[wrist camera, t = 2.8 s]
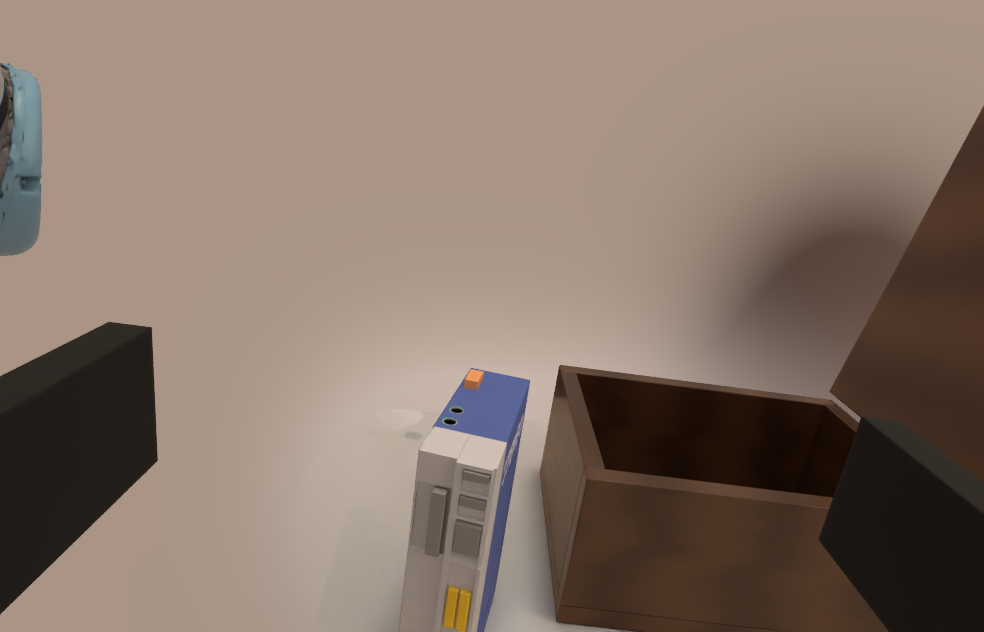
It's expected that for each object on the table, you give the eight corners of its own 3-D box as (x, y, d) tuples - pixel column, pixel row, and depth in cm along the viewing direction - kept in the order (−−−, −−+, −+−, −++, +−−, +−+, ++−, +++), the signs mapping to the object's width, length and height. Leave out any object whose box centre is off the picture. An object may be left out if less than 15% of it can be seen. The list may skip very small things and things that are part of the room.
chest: (556, 622, 29) (587, 478, 26) (539, 471, 41) (559, 364, 39) (922, 665, 29) (985, 527, 27) (796, 503, 42) (832, 399, 39)
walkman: (442, 577, 30) (471, 360, 27) (495, 591, 30) (532, 372, 26) (385, 717, 23) (414, 444, 19) (454, 738, 23) (497, 463, 19)
